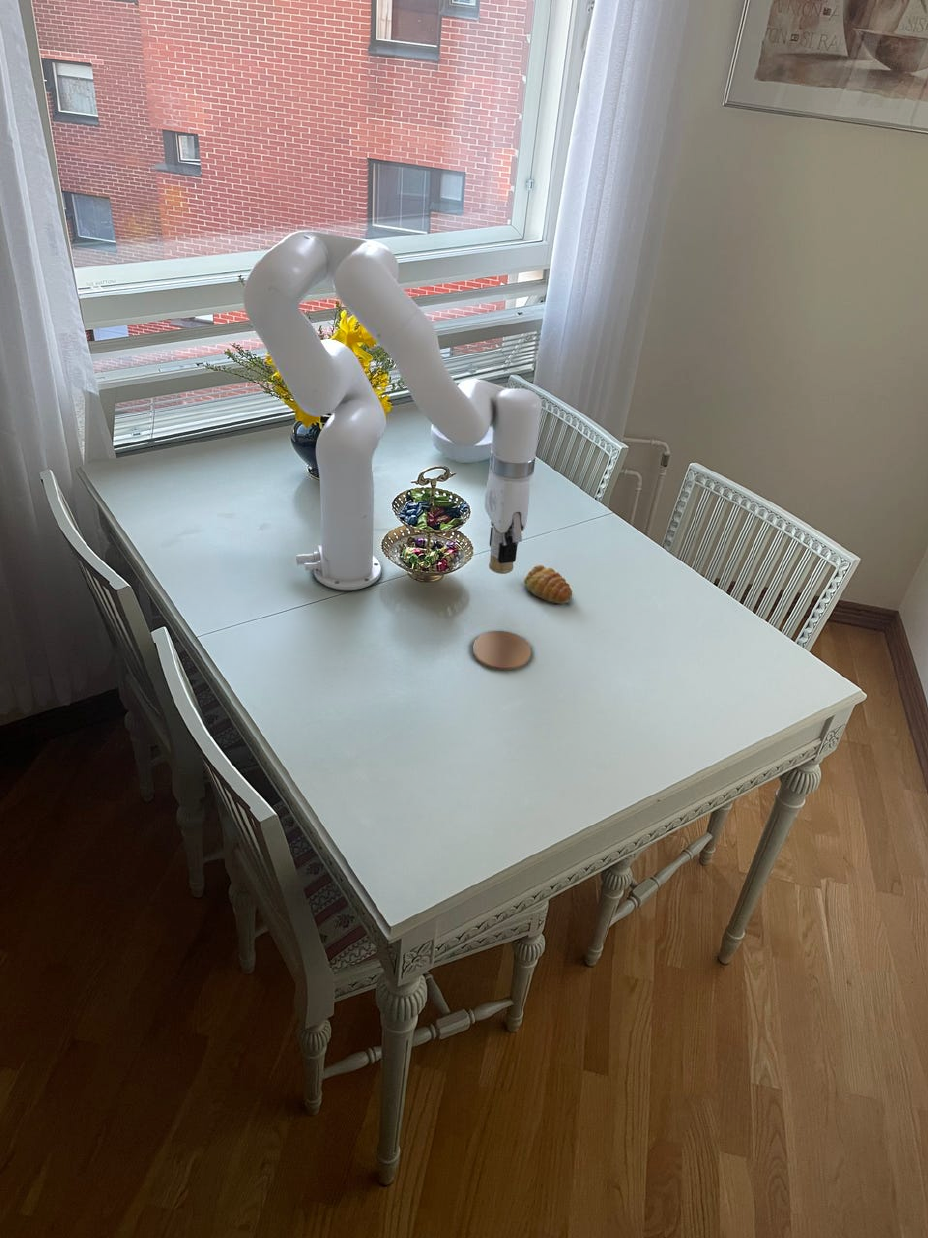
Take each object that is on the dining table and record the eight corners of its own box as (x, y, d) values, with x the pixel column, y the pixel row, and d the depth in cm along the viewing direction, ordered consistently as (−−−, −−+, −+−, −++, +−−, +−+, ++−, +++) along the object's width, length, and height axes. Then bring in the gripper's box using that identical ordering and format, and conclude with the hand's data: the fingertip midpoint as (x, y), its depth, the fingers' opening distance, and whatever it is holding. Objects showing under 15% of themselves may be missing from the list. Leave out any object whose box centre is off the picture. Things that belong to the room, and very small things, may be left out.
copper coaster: (482, 673, 155) (482, 670, 154) (466, 636, 162) (466, 634, 162) (538, 666, 157) (538, 663, 157) (520, 630, 165) (520, 628, 165)
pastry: (579, 597, 175) (582, 580, 172) (556, 611, 171) (558, 594, 168) (542, 575, 180) (544, 558, 177) (518, 587, 176) (521, 571, 173)
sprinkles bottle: (506, 559, 172) (513, 495, 164) (517, 572, 169) (525, 507, 160) (484, 563, 170) (490, 499, 162) (495, 577, 167) (502, 512, 159)
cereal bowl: (502, 475, 211) (505, 446, 206) (429, 470, 210) (430, 442, 205) (499, 441, 224) (501, 414, 220) (430, 437, 223) (431, 409, 219)
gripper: (477, 441, 162) (469, 531, 173) (506, 489, 149) (495, 582, 160) (518, 439, 164) (508, 527, 175) (549, 485, 151) (537, 578, 162)
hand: (502, 552), depth 167 cm, fingers closed on sprinkles bottle, 4 cm apart
